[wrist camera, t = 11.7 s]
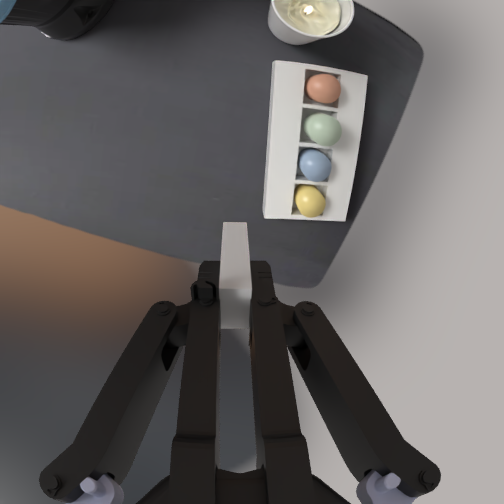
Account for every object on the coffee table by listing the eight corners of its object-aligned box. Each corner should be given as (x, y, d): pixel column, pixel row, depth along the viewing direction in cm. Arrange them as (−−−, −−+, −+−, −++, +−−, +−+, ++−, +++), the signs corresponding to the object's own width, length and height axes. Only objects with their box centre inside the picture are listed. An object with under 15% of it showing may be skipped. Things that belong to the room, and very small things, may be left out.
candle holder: (337, 32, 32) (369, 18, 22) (289, 60, 35) (308, 51, 25) (299, -13, 28) (319, -40, 18) (248, 15, 31) (253, -9, 20)
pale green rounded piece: (304, 110, 37) (312, 113, 33) (333, 114, 37) (343, 117, 33) (302, 138, 39) (309, 144, 36) (329, 141, 40) (339, 148, 36)
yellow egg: (294, 181, 45) (300, 190, 41) (319, 182, 45) (327, 192, 42) (291, 205, 48) (296, 217, 44) (316, 206, 48) (323, 218, 44)
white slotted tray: (272, 62, 35) (275, 60, 32) (358, 75, 36) (367, 75, 33) (262, 209, 49) (264, 218, 46) (338, 212, 50) (345, 221, 47)
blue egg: (298, 146, 42) (304, 152, 38) (324, 148, 42) (333, 155, 38) (295, 172, 44) (301, 180, 41) (321, 173, 45) (329, 183, 41)
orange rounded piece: (304, 73, 35) (312, 71, 32) (332, 77, 36) (342, 76, 32) (302, 99, 38) (309, 101, 34) (329, 103, 38) (339, 105, 34)
